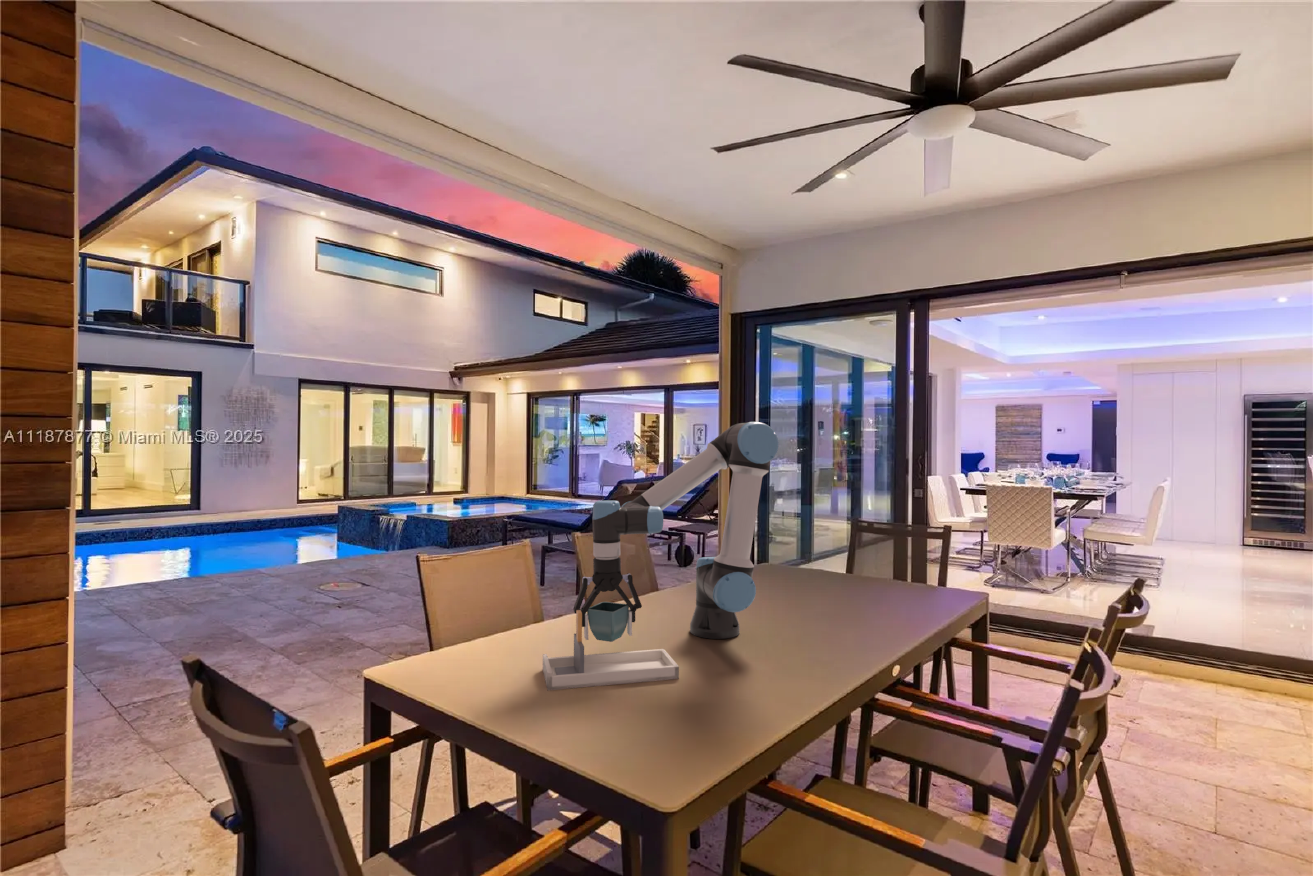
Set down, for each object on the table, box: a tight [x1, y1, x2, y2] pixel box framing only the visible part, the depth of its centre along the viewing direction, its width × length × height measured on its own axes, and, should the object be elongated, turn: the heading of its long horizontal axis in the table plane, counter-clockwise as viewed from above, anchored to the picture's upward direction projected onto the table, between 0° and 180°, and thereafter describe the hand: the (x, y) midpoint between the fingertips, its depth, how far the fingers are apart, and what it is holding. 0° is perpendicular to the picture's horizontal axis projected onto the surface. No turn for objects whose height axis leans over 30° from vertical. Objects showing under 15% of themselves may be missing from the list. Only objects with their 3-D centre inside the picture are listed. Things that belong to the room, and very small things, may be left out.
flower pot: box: [586, 601, 630, 643], centre depth 178 cm, size 9×9×9 cm
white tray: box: [542, 648, 680, 691], centre depth 161 cm, size 32×14×4 cm, turn 105°
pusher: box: [555, 610, 585, 675], centre depth 159 cm, size 6×11×15 cm, turn 15°
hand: (608, 636), depth 178 cm, fingers closed on flower pot, 11 cm apart
